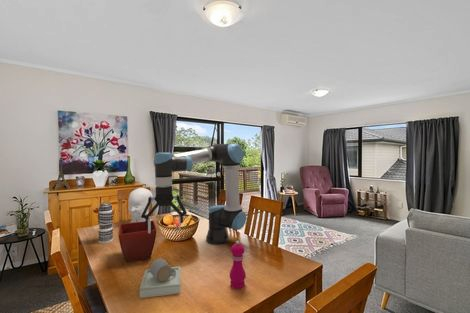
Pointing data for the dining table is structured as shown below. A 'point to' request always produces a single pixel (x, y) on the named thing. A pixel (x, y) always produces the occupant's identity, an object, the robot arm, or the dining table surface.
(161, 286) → the display plinth
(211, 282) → the dining table surface
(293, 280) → the dining table surface
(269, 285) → the dining table surface
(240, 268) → the pepper mill
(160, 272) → the ceramic mug
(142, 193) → the head sculpture
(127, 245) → the plant pot
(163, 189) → the robot arm
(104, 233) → the decorative candle
